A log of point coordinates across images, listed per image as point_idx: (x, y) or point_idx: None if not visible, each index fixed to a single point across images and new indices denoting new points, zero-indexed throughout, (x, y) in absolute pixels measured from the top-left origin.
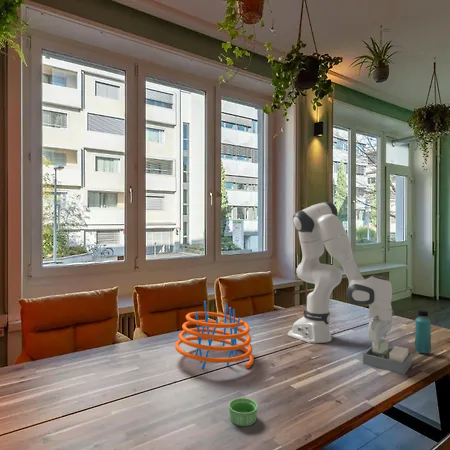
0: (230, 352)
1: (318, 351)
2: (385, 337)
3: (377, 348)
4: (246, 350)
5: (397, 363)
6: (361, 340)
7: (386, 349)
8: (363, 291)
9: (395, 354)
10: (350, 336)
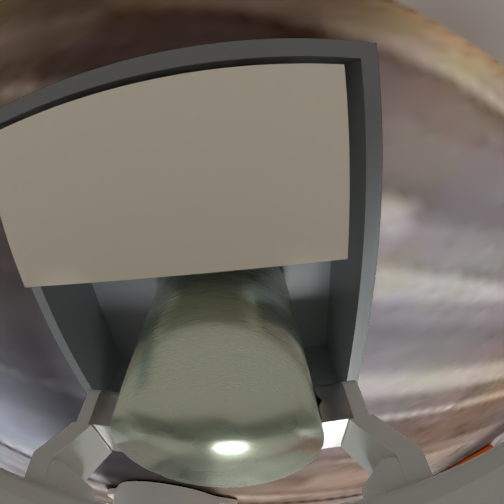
0: None
1: (291, 475)
2: (62, 439)
3: (355, 388)
4: None
5: (375, 119)
6: (27, 417)
7: (251, 326)
8: None
9: (347, 172)
10: (41, 444)
